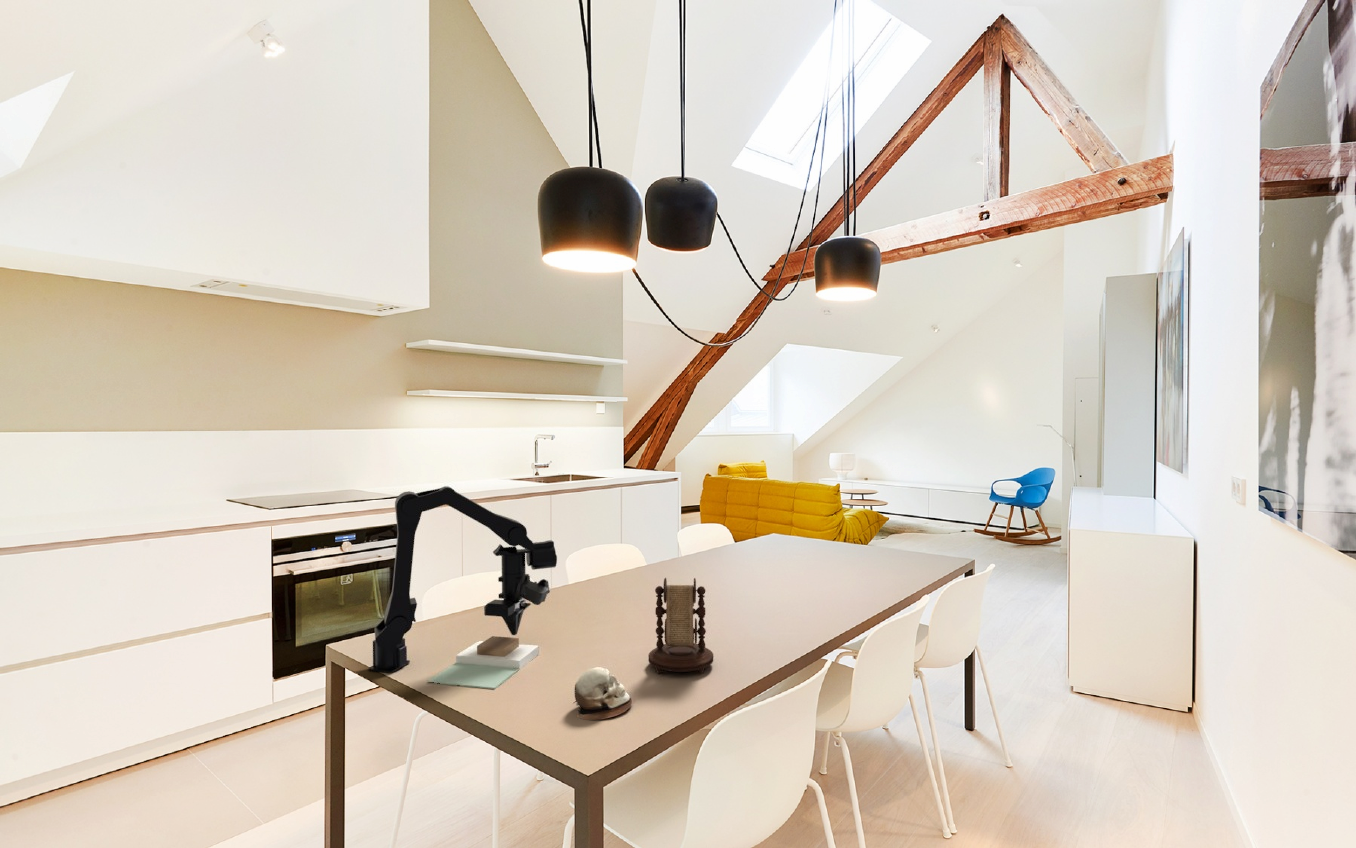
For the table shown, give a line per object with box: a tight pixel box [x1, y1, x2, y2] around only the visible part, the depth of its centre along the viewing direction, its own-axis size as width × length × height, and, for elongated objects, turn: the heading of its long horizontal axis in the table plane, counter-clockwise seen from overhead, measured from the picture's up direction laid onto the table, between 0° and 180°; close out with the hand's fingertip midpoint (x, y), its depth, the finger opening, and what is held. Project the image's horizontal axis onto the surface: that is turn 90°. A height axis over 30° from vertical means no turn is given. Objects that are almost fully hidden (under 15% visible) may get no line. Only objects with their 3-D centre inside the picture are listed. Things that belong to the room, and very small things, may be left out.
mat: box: [427, 662, 520, 690], centre depth 145 cm, size 16×11×1 cm
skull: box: [573, 666, 633, 721], centre depth 129 cm, size 12×10×10 cm
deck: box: [455, 640, 540, 671], centre depth 156 cm, size 16×10×2 cm, turn 76°
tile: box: [477, 635, 520, 657], centre depth 156 cm, size 7×7×2 cm
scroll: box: [648, 577, 714, 675], centre depth 150 cm, size 15×15×20 cm
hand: (514, 634), depth 163 cm, fingers closed
